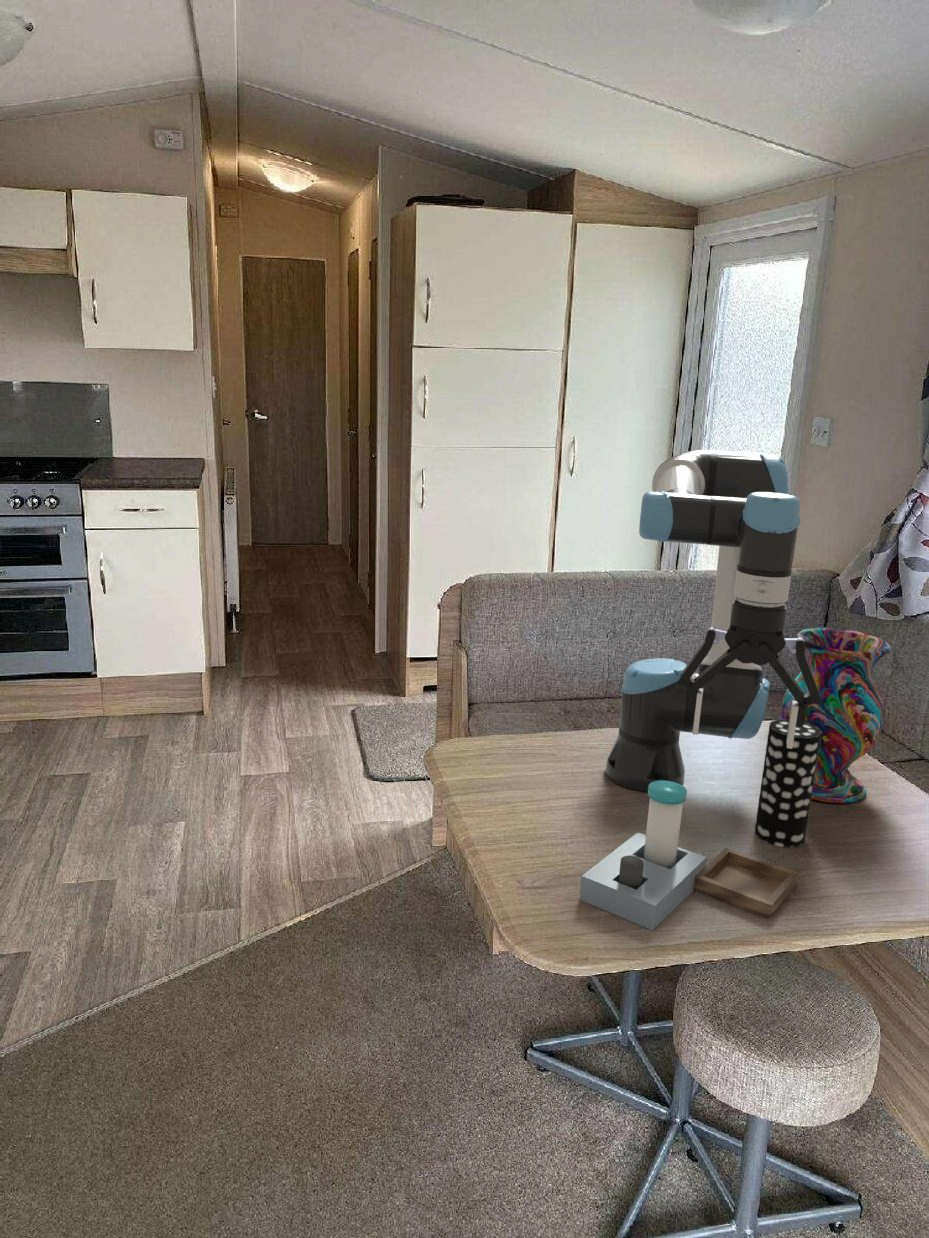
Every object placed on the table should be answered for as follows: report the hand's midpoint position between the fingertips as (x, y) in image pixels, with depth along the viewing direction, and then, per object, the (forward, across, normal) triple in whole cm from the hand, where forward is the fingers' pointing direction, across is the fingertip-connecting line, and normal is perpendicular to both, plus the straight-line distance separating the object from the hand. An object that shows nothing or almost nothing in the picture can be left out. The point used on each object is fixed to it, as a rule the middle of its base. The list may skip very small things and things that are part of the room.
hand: (741, 738), depth 141 cm
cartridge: (+24, -10, -2) cm, 26 cm away
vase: (+24, +17, +45) cm, 54 cm away
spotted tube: (+24, +9, +20) cm, 33 cm away
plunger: (+22, -13, -11) cm, 28 cm away
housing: (+24, -12, -6) cm, 28 cm away
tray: (+24, +3, 0) cm, 25 cm away
